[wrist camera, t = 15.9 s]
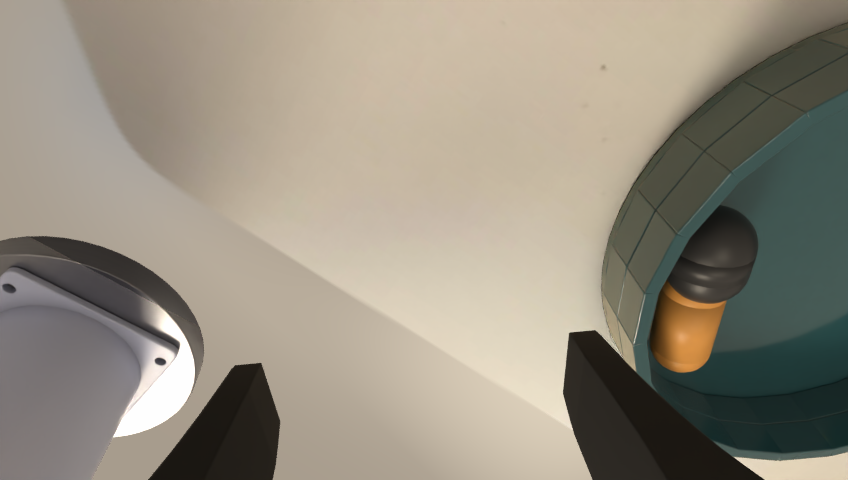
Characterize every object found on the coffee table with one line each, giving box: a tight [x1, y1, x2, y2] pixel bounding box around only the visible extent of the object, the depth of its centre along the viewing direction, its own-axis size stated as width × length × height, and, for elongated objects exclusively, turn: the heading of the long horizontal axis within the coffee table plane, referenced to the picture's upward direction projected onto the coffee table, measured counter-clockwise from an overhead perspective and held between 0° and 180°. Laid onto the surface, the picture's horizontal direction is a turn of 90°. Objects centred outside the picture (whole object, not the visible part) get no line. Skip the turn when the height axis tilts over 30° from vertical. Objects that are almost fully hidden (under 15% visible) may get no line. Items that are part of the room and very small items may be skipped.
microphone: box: [649, 205, 759, 373], centre depth 23 cm, size 9×3×3 cm, turn 4°
